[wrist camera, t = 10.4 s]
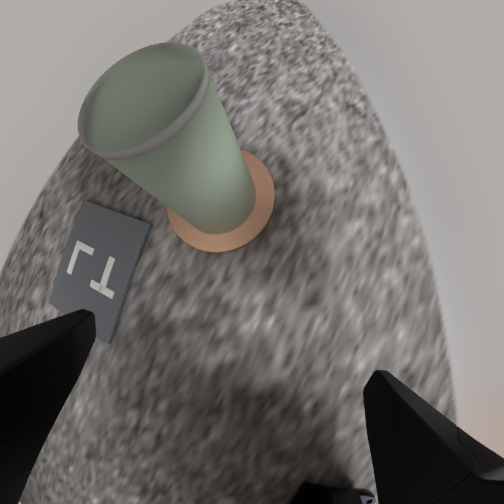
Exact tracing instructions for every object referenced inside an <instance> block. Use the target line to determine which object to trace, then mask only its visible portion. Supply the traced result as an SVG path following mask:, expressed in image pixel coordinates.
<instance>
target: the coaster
mask: <svg viewBox="0 0 504 504" xmlns="http://www.w3.org/2000/svg"><path fill="white" fill-rule="evenodd" d="M240 150H241V152H242V155H243V157H244V160H245V162H246V165H247V167H248V170H249V172H250V175H251V177H252V180H253V182H254V185H255V189H256V202H255V206H254V208H253V211H252V213H251V214H250V216H249V217H248V219H247V220H246V221H245V222H244V223H243V224H242V225H241V226H239V227H238V228H236V229H235V230H233V231H231V232H228V233H224V234H216V235H214V234H207V233H204V232H201V231H199V230H197V229H196V228H195V227H193V226H192V225H191V224H189V223H188V222H187V221H185V220H184V219H182V218H181V217H180V216H178V215H177V214H176V213H174V212H173V211H172V210H171V209H169V208H168V207H167V214H168V218H169V221H170V224H171V226H172V228H173V229H174V231H175V233H176V234H177V235H178V236H179V237H180V238H181V239H182V240H183V241H184V242H186V243H187V244H189V245H190V246H192V247H194V248H196V249H199V250H202V251H205V252H211V253H223V252H229V251H233V250H236V249H238V248H241V247H243V246H245V245H247V244H248V243H250V242H251V241H252V240H254V239H255V238H256V237H257V236H258V235H259V234H260V233H261V232H262V231H263V229H264V228H265V227H266V225H267V224H268V222H269V220H270V218H271V215H272V212H273V209H274V204H275V190H274V184H273V181H272V177H271V175H270V173H269V171H268V169H267V168H266V166H265V165H264V164H263V163H262V161H261V160H259V159H258V158H257V157H256V156H254V155H253V154H251V153H249V152H247V151H245V150H242V149H240Z"/></svg>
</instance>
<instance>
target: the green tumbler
mask: <svg viewBox="0 0 504 504" xmlns="http://www.w3.org/2000/svg"><path fill="white" fill-rule="evenodd" d="M78 133H79V137H80V139H81V141H82V143H83V144H84V145H85V146H86V147H87V148H88V149H90V150H91V151H92V152H93V153H95V154H96V155H98V156H100V157H102V158H103V159H105V160H106V161H107V162H109V163H110V164H111V165H113V166H114V167H115V168H117V169H118V170H119V171H120V172H122V173H123V174H124V175H126V176H127V177H128V178H130V179H131V180H132V181H134V182H135V183H136V184H137V185H139V186H140V187H141V188H143V189H144V190H145V191H147V192H148V193H149V194H151V195H152V196H153V197H155V198H156V199H157V200H159V201H160V202H161V203H163V204H164V205H165V206H167V207H168V208H169V209H171V210H172V211H173V212H174V213H176V214H177V215H178V216H180V217H181V218H182V219H184V220H185V221H187V222H188V223H189V224H191V225H192V226H193V227H195V228H196V229H197V230H199V231H201V232H204V233H207V234H214V235H216V234H224V233H228V232H231V231H233V230H235V229H236V228H238V227H239V226H241V225H242V224H243V223H244V222H245V221H246V220H247V219H248V217H249V216H250V214H251V213H252V211H253V208H254V206H255V202H256V189H255V185H254V182H253V180H252V177H251V175H250V172H249V170H248V167H247V165H246V162H245V160H244V157H243V155H242V152H241V150H240V147H239V145H238V142H237V140H236V137H235V135H234V132H233V130H232V127H231V125H230V123H229V120H228V118H227V115H226V113H225V111H224V108H223V106H222V103H221V101H220V99H219V96H218V94H217V91H216V89H215V87H214V84H213V82H212V80H211V77H210V73H209V70H208V67H207V64H206V62H205V60H204V58H203V56H202V54H201V53H200V52H199V51H198V50H197V49H195V48H194V47H192V46H190V45H188V44H184V43H178V42H165V43H159V44H154V45H150V46H147V47H144V48H142V49H139V50H137V51H135V52H133V53H131V54H129V55H127V56H126V57H124V58H122V59H121V60H119V61H118V62H117V63H116V64H114V65H113V66H112V67H110V68H109V69H108V70H107V71H106V72H105V73H104V74H103V75H102V76H101V77H100V78H99V79H98V80H97V82H96V83H95V84H94V85H93V87H92V88H91V90H90V91H89V93H88V94H87V96H86V98H85V100H84V102H83V104H82V107H81V110H80V113H79V117H78Z"/></svg>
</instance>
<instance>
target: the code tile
mask: <svg viewBox="0 0 504 504" xmlns="http://www.w3.org/2000/svg"><path fill="white" fill-rule="evenodd" d="M151 226H152V225H150V224H148V223H145V222H143V221H140V220H137V219H134V218H132V217H129V216H126V215H123V214H121V213H118V212H115V211H112V210H110V209H107V208H104V207H101V206H99V205H96V204H93V203H91V202H88V201H85V200H84V201H83V203H82V205H81V208H80V210H79V213H78V215H77V218H76V220H75V223H74V225H73V228H72V231H71V233H70V236H69V239H68V242H67V245H66V248H65V250H64V253H63V256H62V260H61V263H60V266H59V269H58V272H57V276H56V279H55V283H54V286H53V290H52V293H51V297H50V301H49V303H51V304H52V305H53V306H55V307H56V308H57V309H59V310H60V311H61V312H63V313H64V314H65V315H66V314H68V313H71V312H74V311H77V310H80V309H86V310H89V311H92V312H93V313H94V314H95V322H96V336H97V337H99V338H100V339H102V340H103V341H105V342H107V343H108V344H111V341H112V337H113V334H114V331H115V327H116V324H117V321H118V317H119V314H120V311H121V308H122V305H123V302H124V299H125V296H126V293H127V290H128V287H129V284H130V281H131V278H132V275H133V273H134V270H135V267H136V264H137V262H138V259H139V256H140V254H141V251H142V248H143V246H144V243H145V241H146V238H147V236H148V233H149V231H150V228H151Z"/></svg>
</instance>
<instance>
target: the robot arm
mask: <svg viewBox="0 0 504 504" xmlns="http://www.w3.org/2000/svg"><path fill="white" fill-rule="evenodd" d="M95 338H96V322H95V314H94V313H93V312H92V311H89V310H86V309H80V310H77V311H74V312H71V313H68V314H66V315H63V316H60V317H57V318H54V319H52V320H49V321H46V322H43V323H40V324H38V325H35V326H32V327H29V328H26V329H24V330H21V331H18V332H15V333H12V334H10V335H7V336H4V337H1V338H0V504H18V503H19V500H20V497H21V495H22V492H23V490H24V488H25V485H26V483H27V479H28V478H29V475H30V473H31V471H32V468H33V466H34V464H35V462H36V460H37V457H38V455H39V453H40V451H41V449H42V447H43V445H44V443H45V441H46V438H47V436H48V434H49V432H50V430H51V428H52V426H53V424H54V422H55V421H56V419H57V417H58V415H59V413H60V411H61V409H62V407H63V405H64V403H65V402H66V400H67V398H68V396H69V394H70V392H71V391H72V389H73V387H74V385H75V383H76V382H77V380H78V378H79V376H80V373H81V371H82V369H83V366H84V364H85V362H86V359H87V357H88V355H89V352H90V350H91V348H92V346H93V344H94V341H95ZM363 398H364V408H365V418H366V429H367V436H368V441H369V446H370V452H371V457H372V463H373V469H374V475H375V482H376V488H377V495H378V502H379V504H504V458H502V457H501V456H499V455H498V454H496V453H495V452H493V451H492V450H490V449H489V448H487V447H485V446H484V445H482V444H481V443H479V442H478V441H476V440H475V439H474V438H472V437H471V436H469V435H468V434H467V433H466V432H464V431H463V430H462V429H460V428H459V427H458V426H457V427H456V425H455V424H454V423H453V422H451V421H450V420H449V419H448V418H446V417H445V416H444V415H442V414H441V413H440V412H439V411H437V410H436V409H435V408H434V407H432V406H431V405H430V404H428V403H427V402H426V401H425V400H423V399H422V398H421V397H420V396H418V395H417V394H416V393H415V392H413V391H412V390H411V389H409V388H408V387H407V386H406V385H404V384H403V383H402V382H401V381H399V380H398V379H397V378H396V377H394V376H393V375H392V374H391V373H389V372H388V371H386V370H376V371H374V372H373V374H372V376H371V377H370V379H369V381H368V382H367V384H366V385H365V387H364V390H363ZM305 487H308V489H303V488H305ZM369 499H371V500H370V501H368V500H369ZM375 501H376V499H375V496H374V495H370V494H363V493H359V492H356V491H350V490H345V489H339V488H334V487H325V486H321V485H316V484H312V483H307V482H306V483H302V484H301V485H300V486H299V488H298V489H297V491H296V493H295V494H294V496H293V497H292V499H291V500H290V502H289V503H288V504H374V503H375Z"/></svg>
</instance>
